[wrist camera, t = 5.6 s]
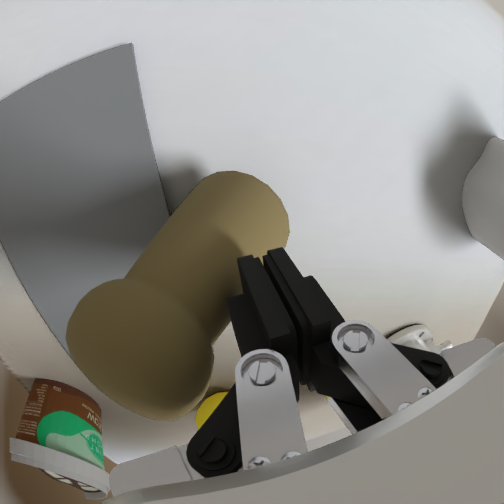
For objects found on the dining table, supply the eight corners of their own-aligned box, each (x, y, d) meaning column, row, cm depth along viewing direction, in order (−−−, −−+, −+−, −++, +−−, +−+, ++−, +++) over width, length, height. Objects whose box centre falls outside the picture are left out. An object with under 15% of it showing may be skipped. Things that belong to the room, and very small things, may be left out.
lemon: (215, 411, 29) (219, 453, 24) (181, 395, 26) (181, 443, 22) (267, 391, 27) (276, 437, 23) (235, 372, 24) (241, 426, 20)
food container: (130, 425, 27) (135, 502, 18) (89, 428, 26) (88, 499, 17) (71, 363, 20) (56, 464, 12) (26, 369, 19) (6, 457, 11)
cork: (199, 153, 14) (17, 284, 6) (308, 200, 14) (215, 418, 5) (180, 240, 18) (63, 375, 9) (267, 283, 18) (186, 452, 9)
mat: (132, 44, 11) (131, 42, 11) (212, 347, 23) (213, 351, 22) (-31, 125, 9) (-36, 127, 9) (86, 371, 21) (85, 375, 20)
